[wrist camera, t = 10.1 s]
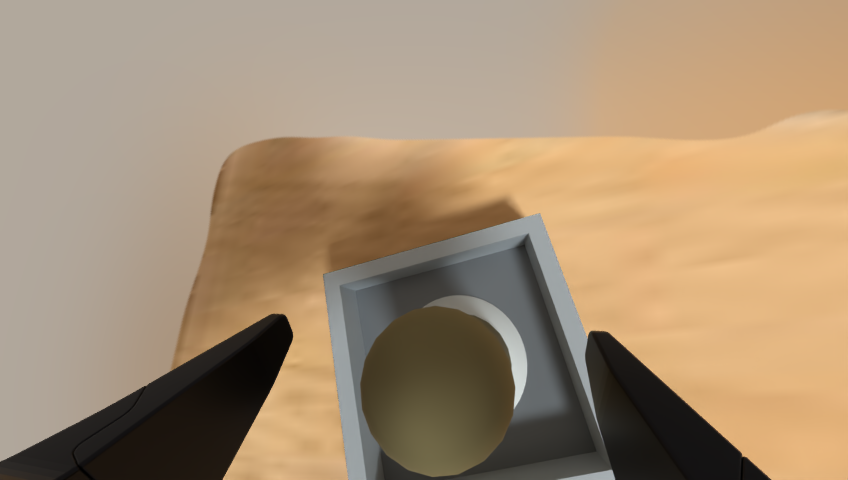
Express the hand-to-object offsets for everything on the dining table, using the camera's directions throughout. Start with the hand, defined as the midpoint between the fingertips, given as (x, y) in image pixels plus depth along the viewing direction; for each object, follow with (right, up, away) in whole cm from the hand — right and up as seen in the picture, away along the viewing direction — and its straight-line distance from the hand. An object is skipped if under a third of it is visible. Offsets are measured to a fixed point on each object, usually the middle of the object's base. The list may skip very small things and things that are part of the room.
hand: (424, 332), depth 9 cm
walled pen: (+2, -5, +11) cm, 12 cm away
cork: (+2, -5, +10) cm, 12 cm away
